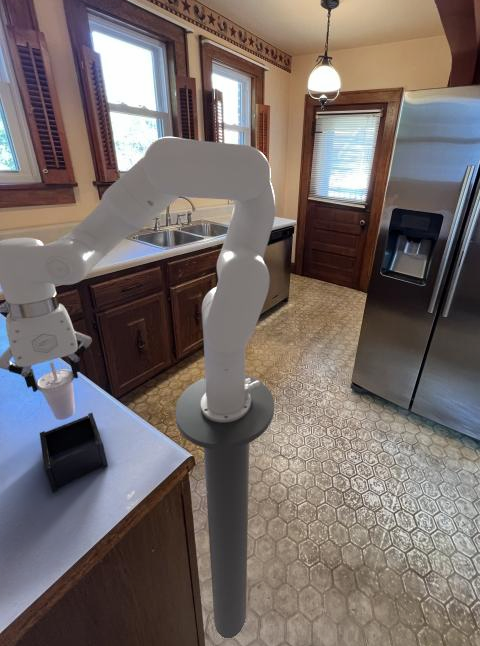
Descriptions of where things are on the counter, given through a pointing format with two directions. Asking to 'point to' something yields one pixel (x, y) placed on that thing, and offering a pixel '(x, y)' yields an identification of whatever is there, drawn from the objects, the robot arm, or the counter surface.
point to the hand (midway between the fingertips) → (55, 380)
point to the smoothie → (58, 392)
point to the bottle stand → (77, 461)
